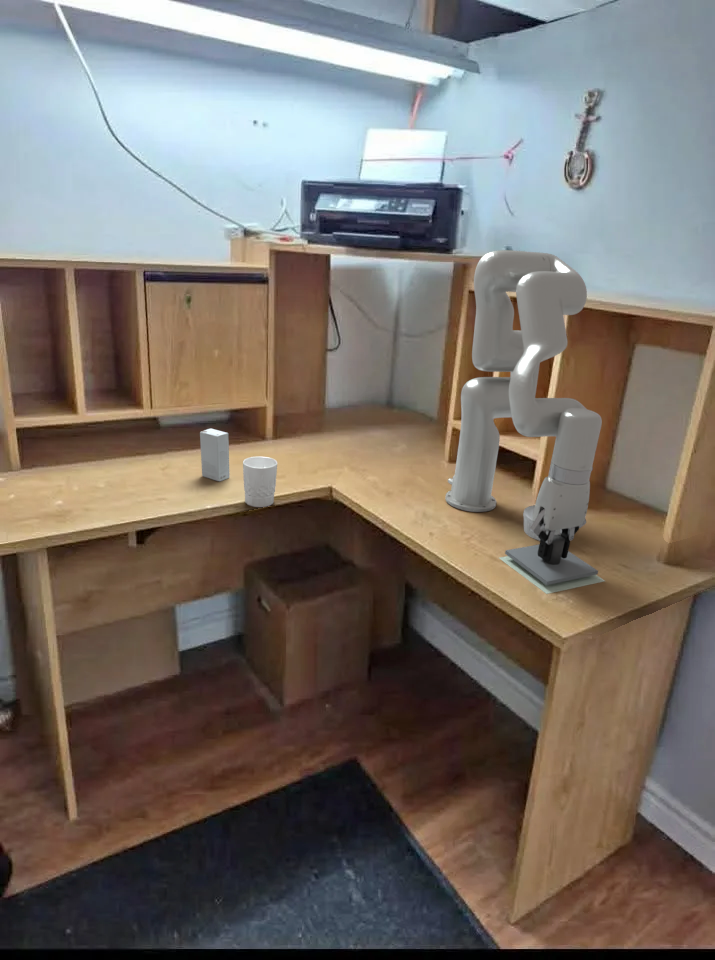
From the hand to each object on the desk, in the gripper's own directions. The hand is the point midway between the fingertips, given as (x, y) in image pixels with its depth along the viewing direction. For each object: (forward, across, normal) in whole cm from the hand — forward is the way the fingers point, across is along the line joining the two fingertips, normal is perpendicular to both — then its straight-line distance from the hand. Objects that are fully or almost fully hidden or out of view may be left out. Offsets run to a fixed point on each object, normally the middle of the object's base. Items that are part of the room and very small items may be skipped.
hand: (551, 556), depth 135 cm
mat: (+3, 0, 0) cm, 3 cm away
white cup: (+4, +46, -50) cm, 67 cm away
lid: (+2, 0, 0) cm, 2 cm away
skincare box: (+4, +52, -68) cm, 85 cm away
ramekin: (+4, -10, -14) cm, 17 cm away
